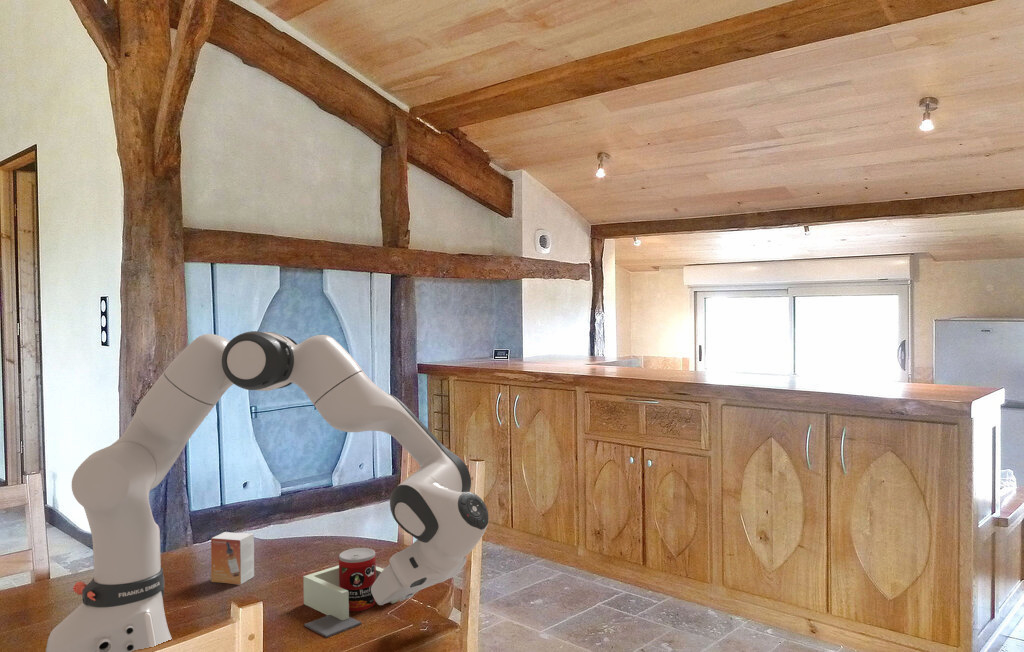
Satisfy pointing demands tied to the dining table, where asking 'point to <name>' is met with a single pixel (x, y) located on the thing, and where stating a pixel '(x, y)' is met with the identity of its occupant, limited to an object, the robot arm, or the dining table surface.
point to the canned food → (358, 576)
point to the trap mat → (331, 625)
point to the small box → (232, 558)
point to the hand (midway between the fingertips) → (403, 596)
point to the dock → (329, 592)
